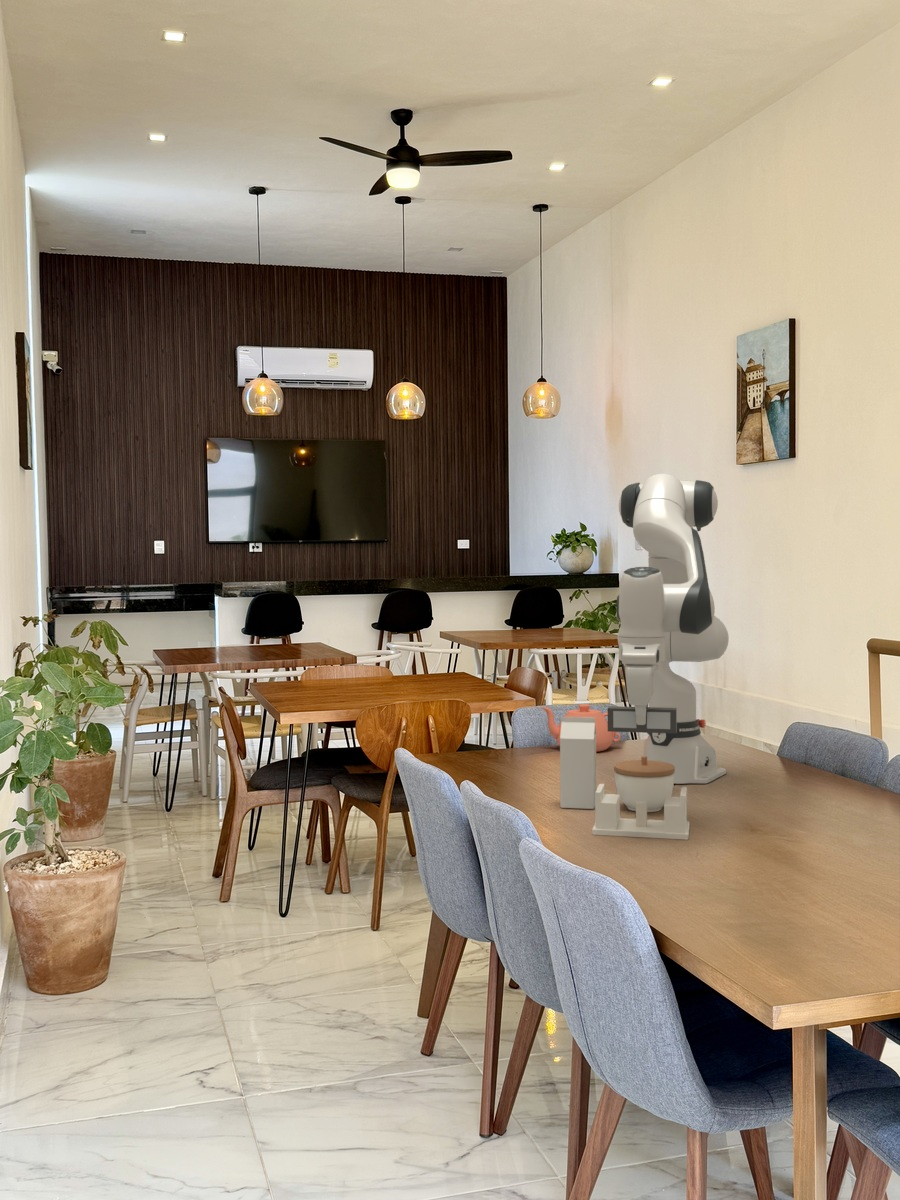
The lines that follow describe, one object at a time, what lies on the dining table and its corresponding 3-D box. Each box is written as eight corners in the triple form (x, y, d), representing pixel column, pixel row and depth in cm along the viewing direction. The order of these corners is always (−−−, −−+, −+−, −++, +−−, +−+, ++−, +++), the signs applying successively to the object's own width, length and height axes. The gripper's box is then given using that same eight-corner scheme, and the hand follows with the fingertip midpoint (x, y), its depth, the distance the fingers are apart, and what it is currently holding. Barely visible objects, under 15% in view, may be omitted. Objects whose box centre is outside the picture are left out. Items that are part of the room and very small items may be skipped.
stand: (592, 834, 208) (592, 793, 208) (597, 822, 218) (597, 782, 218) (688, 839, 204) (688, 797, 204) (689, 826, 214) (689, 786, 213)
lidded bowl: (638, 818, 221) (638, 764, 220) (602, 805, 232) (602, 754, 232) (687, 811, 227) (687, 758, 226) (649, 799, 238) (649, 749, 237)
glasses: (607, 731, 210) (607, 708, 210) (609, 728, 213) (609, 706, 213) (676, 733, 207) (676, 710, 207) (676, 731, 210) (676, 707, 210)
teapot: (543, 755, 291) (543, 708, 291) (538, 744, 307) (538, 701, 306) (625, 754, 291) (625, 708, 291) (616, 744, 307) (616, 700, 306)
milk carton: (594, 809, 228) (593, 720, 228) (560, 808, 230) (559, 719, 229) (596, 802, 235) (596, 715, 235) (563, 801, 237) (563, 714, 236)
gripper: (629, 646, 220) (629, 714, 221) (621, 655, 200) (621, 730, 201) (661, 647, 219) (661, 715, 219) (655, 656, 199) (655, 731, 199)
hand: (641, 722), depth 210 cm, fingers closed on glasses, 3 cm apart
